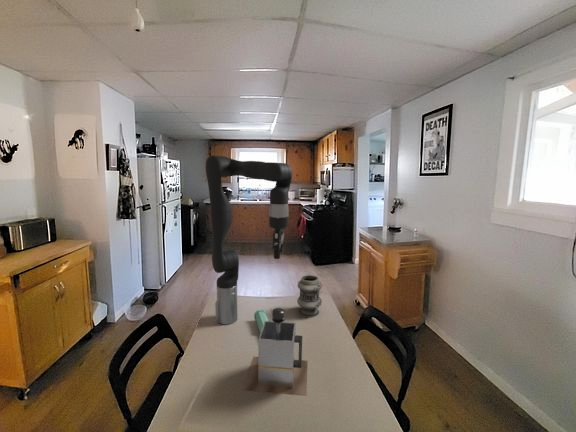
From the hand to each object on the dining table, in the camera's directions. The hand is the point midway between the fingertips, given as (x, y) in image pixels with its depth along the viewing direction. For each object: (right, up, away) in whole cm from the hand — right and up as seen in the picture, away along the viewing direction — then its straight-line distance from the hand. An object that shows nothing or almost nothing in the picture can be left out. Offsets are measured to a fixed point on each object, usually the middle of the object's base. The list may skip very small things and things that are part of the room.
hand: (278, 255), depth 110 cm
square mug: (+2, -38, -17) cm, 41 cm away
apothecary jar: (+14, -33, +28) cm, 45 cm away
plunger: (0, -32, -17) cm, 36 cm away
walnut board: (0, -39, -16) cm, 42 cm away
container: (-6, -36, +8) cm, 37 cm away
